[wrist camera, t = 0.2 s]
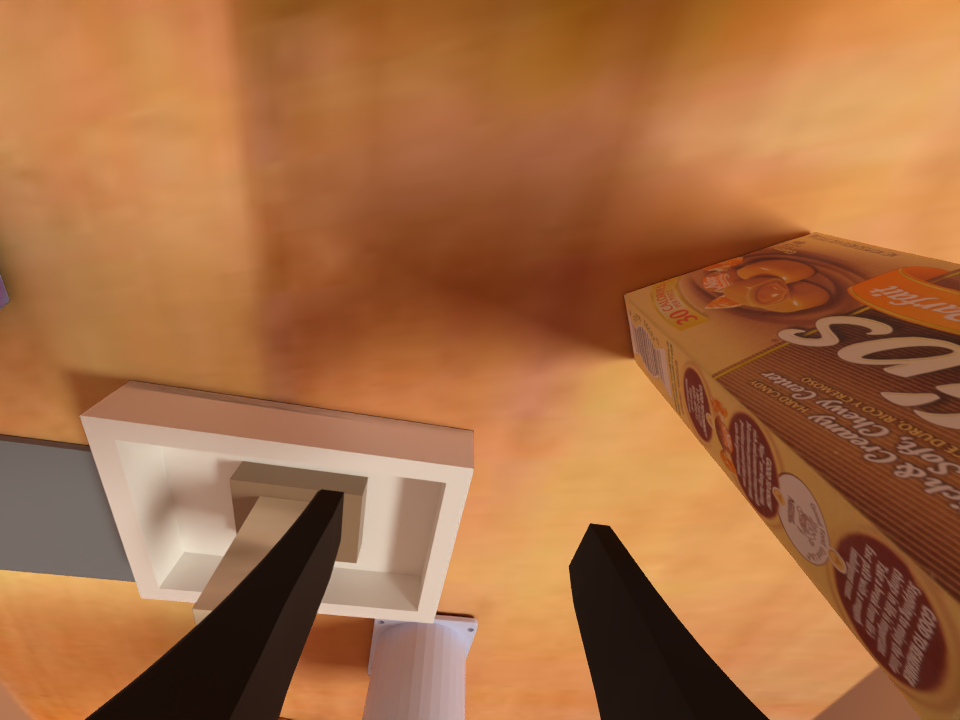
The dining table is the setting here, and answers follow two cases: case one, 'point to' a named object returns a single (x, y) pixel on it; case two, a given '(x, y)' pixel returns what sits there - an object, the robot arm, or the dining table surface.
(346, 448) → the tray
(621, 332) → the dining table surface
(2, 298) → the lantern
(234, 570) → the maple block
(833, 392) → the candy box
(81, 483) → the rubber mat
